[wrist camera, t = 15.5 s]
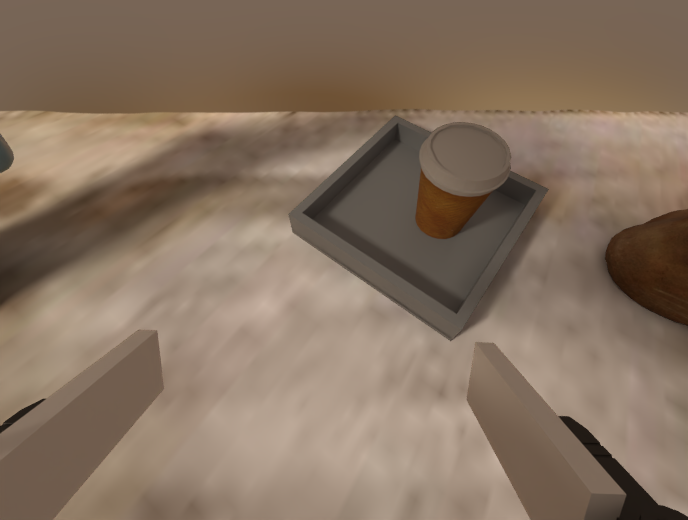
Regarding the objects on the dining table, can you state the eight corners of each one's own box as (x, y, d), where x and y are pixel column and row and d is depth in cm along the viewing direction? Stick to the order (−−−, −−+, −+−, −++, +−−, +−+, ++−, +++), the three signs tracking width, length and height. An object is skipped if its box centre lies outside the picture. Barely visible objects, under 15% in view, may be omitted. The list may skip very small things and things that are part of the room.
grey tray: (292, 232, 44) (288, 214, 41) (391, 136, 54) (395, 115, 50) (450, 340, 37) (461, 329, 34) (533, 208, 46) (548, 189, 43)
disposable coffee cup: (489, 230, 43) (536, 161, 33) (432, 262, 41) (463, 198, 31) (443, 183, 47) (472, 109, 37) (389, 209, 45) (403, 138, 35)
